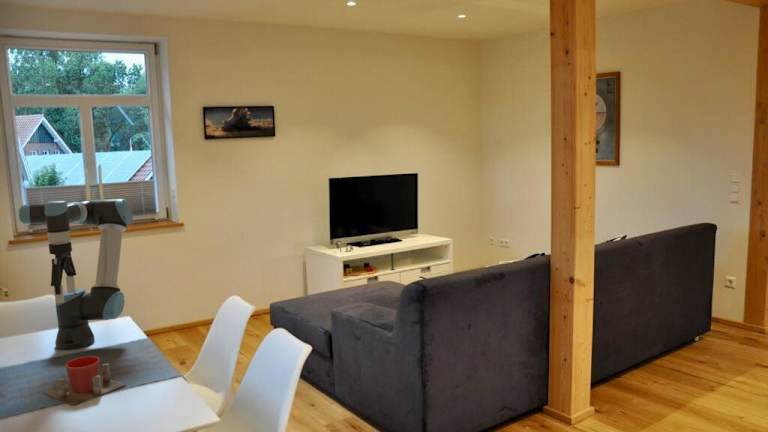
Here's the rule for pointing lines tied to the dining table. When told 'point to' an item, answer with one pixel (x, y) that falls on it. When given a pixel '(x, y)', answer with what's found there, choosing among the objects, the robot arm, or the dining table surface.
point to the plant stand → (99, 388)
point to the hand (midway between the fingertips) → (66, 297)
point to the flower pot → (82, 373)
